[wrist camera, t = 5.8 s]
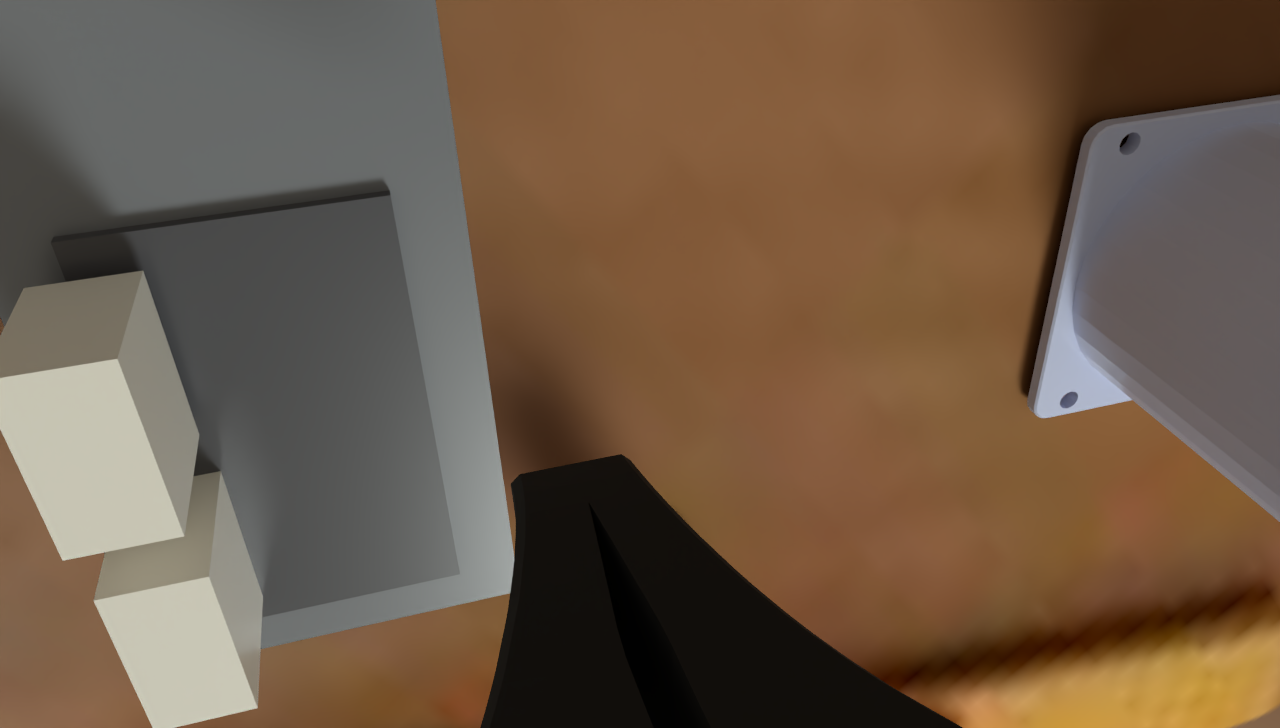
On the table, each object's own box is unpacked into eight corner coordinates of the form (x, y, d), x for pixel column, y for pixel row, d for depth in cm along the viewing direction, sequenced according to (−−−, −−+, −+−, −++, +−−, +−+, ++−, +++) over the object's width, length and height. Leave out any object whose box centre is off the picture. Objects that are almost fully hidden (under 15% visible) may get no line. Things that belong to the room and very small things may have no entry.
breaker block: (391, -199, 16) (431, -159, 11) (493, 485, 24) (545, 698, 19) (-104, -170, 15) (-324, -106, 9) (175, 549, 22) (137, 799, 17)
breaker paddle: (143, 270, 15) (117, 358, 13) (199, 435, 16) (184, 536, 14) (23, 287, 14) (-23, 381, 12) (93, 454, 16) (62, 561, 14)
